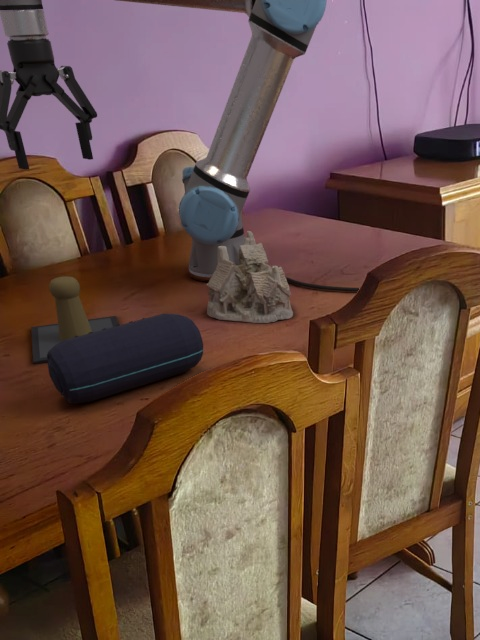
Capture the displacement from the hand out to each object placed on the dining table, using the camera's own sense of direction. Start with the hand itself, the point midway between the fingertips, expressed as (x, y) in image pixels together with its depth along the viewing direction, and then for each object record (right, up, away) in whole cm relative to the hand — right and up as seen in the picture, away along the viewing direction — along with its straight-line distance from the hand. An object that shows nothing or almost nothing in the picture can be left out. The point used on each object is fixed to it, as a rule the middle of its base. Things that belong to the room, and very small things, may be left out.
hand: (57, 163), depth 165 cm
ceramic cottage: (+38, -28, +4) cm, 47 cm away
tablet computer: (+7, -36, -7) cm, 38 cm away
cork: (+7, -36, -7) cm, 37 cm away
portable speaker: (+23, -49, -26) cm, 60 cm away
